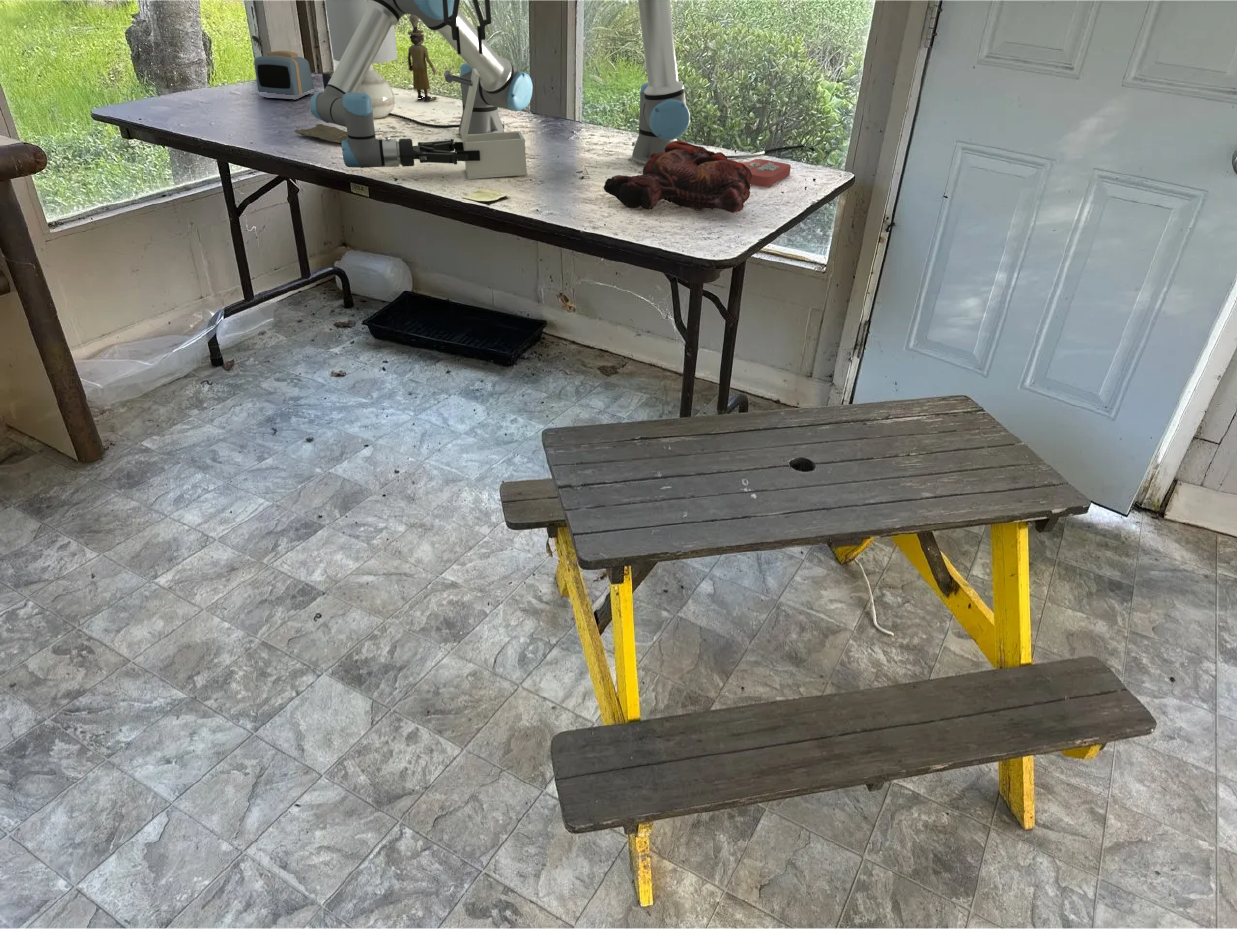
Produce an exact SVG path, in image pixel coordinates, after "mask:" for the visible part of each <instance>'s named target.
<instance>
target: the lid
mask: <svg viewBox="0 0 1237 929" xmlns="http://www.w3.org/2000/svg"><path fill="white" fill-rule="evenodd" d="M479 76H480V75H479V73H478V71H477V69H475V68H473V70H472V75H471V80H469V79H465V78H462V77H460V76H458V75H455V74H452V72H451V71H450V70H445V71H444V73H443V77H444V80H445V82H446V83H448V84H451V83H453V82H455V83H458V84H461V83H462V84H465V85H469V90H468V95H467V100H466V105H465V110H464V115H463V120H462V125H461V130H460V134H461V137H460V138H461V141H462V142H463V141H466V139H467V134H468V129H469V124H470V119H471V115H472V110H473V105H474V100H475V95H476V90H477V85H478V80H479Z"/></svg>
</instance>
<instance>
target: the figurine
mask: <svg viewBox="0 0 1237 929" xmlns="http://www.w3.org/2000/svg"><path fill="white" fill-rule="evenodd" d="M408 18H409V21H410V24H411V26H412V30H411V31H408V32H407V34H408V35H409V39H410V42H411V44H412V45H410V46H409V47H408V50H407V51H408V53H407V65H408V71H409V72H412V76H413V78H412V87H413V90H416V93H417V99H416V101H417V102H421V101H423V102H430V101H434V100H436V99H437V97H436V96H429V95H428V94H429V93H428V90H430V87H431V85H430V81H429V76H428V75H429V74H428V66H427V65H429V68H431V71H432V74H433V76H434V77H435V75H436V72H437V71H436V70H437V69H436V68H435V66H434V64H433V63H432V61H431V59H430V57H429V52H428V48H427V47H426V46H425V45H423V44H424V42H425V35H424V31H423V30H420V29H418V25H419V20H420V19H419V18H418V17H417V16H416V15H410V14H409V16H408ZM422 91H423V93H424V95H422ZM423 96H425V97H423ZM422 97H423V98H422ZM431 97H432V98H431ZM418 98H421V99H418Z"/></svg>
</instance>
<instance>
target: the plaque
mask: <svg viewBox="0 0 1237 929" xmlns="http://www.w3.org/2000/svg"><path fill="white" fill-rule="evenodd" d="M739 162H740V163H742V164H744V165H745V166H746V167H747V168H749V169H750V171H751V173H752V178H751V180H750V186H751V185H752V186H755V187H762V188H769V187H772V186H773V185H775V184H777V183H779V182H780V181H782V180H784V179H786V178H788V177H789V176H790V175H791V168H792V165H791V164H789V163H786V162H781V161H775V160H769V159H763V158H754V159H752V160H749V161H739Z"/></svg>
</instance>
